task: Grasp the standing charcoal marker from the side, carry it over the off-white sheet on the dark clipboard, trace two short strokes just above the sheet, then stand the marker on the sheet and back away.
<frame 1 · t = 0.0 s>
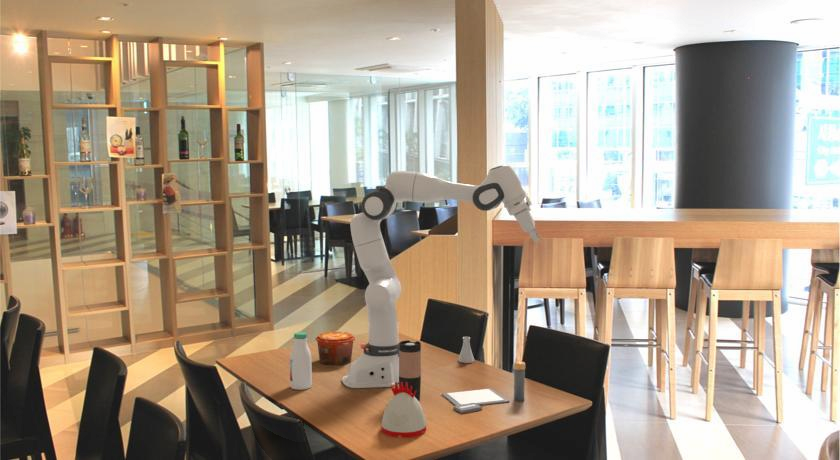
hand: (536, 240, 274), 54 cm above the table, tool tilted 30°, fingers open, 8 cm apart
paper pad: (475, 398, 267), on the table
kitchen timer: (403, 430, 236), on the table
food container: (335, 361, 314), on the table
milk bottle: (300, 387, 279), on the table
marker: (519, 399, 266), on the table
flask: (466, 361, 315), on the table
travel mug: (409, 400, 265), on the table
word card: (467, 409, 255), on the table
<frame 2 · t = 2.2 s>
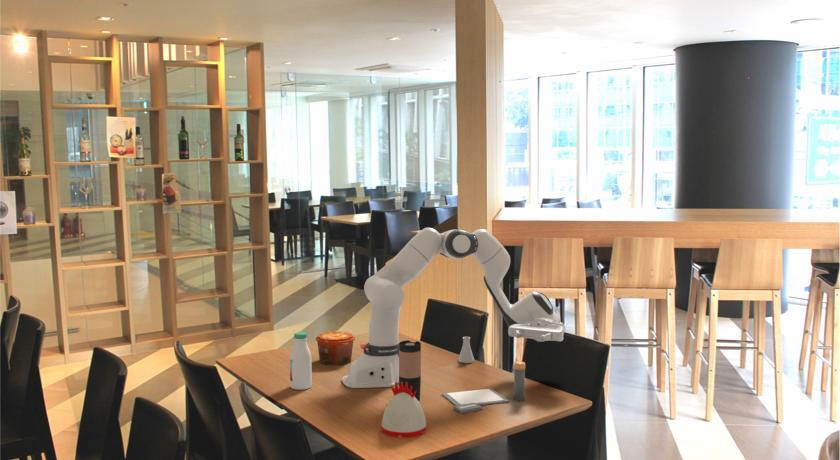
hand: (530, 337, 275), 20 cm above the table, tool horizontal, fingers open, 8 cm apart
nothing on the table moved.
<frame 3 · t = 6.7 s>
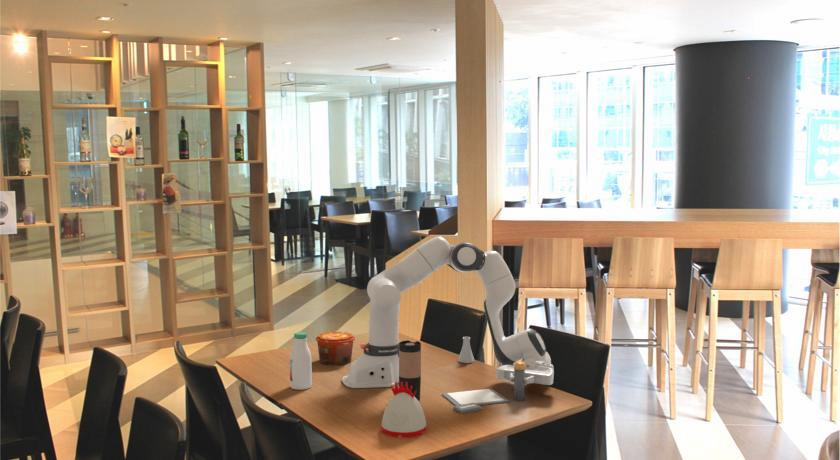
hand: (518, 380, 264), 7 cm above the table, tool horizontal, fingers closed on marker, 4 cm apart
marker: (519, 399, 266), on the table, touching gripper
everything else where it was.
when the fingers open (8 cm above the table, at t = 14.0 s): marker stays where it is, resting on paper pad.
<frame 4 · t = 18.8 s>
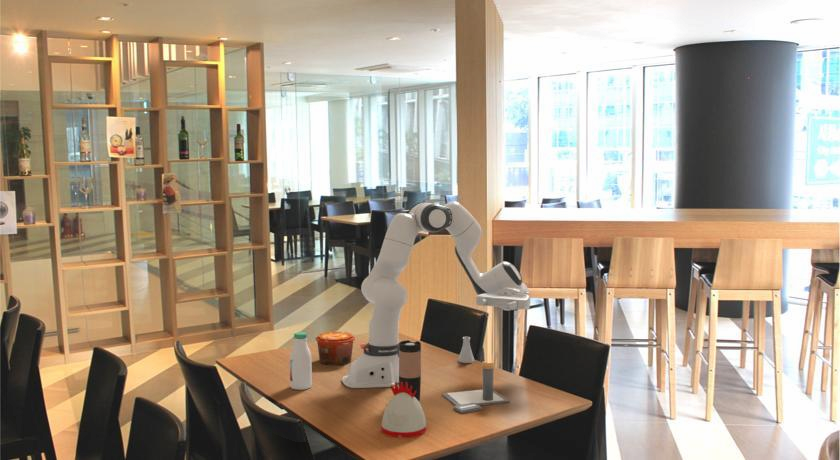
hand: (496, 304, 280), 30 cm above the table, tool horizontal, fingers open, 8 cm apart
marker: (487, 399, 264), point 1 cm above the table, touching paper pad
everything else where it was.
at the end: marker inside the target area on the paper pad (5.0 cm from its centre), point 0.7 cm above the paper pad's base; marker tilted 0°; the gripper is holding nothing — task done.
